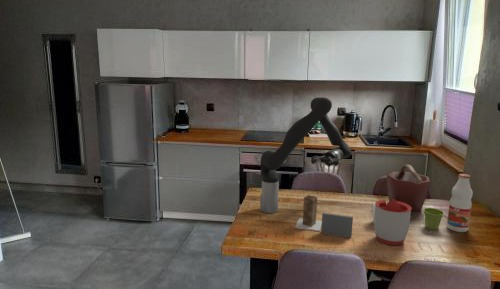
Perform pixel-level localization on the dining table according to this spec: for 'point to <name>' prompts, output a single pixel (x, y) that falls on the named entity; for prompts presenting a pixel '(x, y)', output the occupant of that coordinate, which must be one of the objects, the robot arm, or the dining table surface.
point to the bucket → (408, 187)
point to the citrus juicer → (391, 221)
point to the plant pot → (433, 218)
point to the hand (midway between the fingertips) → (320, 163)
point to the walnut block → (309, 210)
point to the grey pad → (315, 227)
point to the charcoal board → (337, 225)
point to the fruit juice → (460, 205)
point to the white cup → (374, 210)
